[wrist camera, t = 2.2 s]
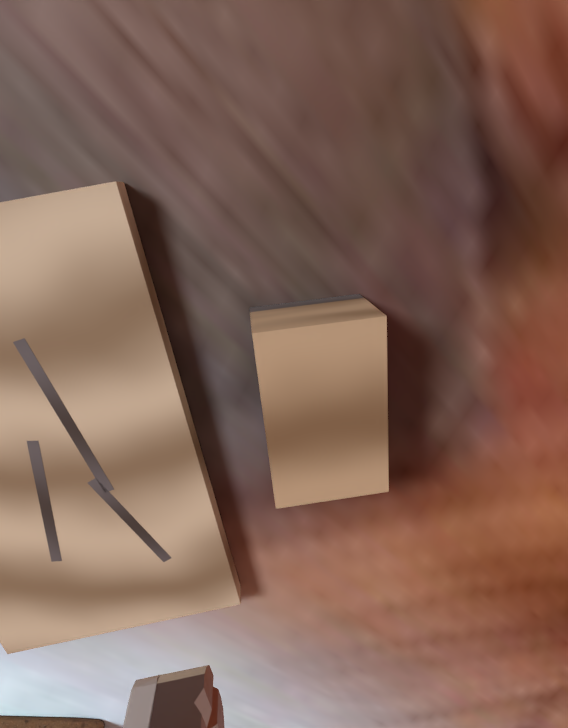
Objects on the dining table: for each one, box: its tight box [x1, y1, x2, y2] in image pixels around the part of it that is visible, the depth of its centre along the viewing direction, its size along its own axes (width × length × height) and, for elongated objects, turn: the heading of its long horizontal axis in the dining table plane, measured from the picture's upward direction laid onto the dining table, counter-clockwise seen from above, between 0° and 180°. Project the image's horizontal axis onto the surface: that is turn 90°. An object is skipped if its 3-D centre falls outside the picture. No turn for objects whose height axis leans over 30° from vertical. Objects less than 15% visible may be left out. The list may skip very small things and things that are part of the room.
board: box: [0, 182, 241, 654], centre depth 20 cm, size 22×13×1 cm, turn 10°
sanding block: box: [249, 294, 389, 509], centre depth 19 cm, size 8×5×4 cm, turn 6°
